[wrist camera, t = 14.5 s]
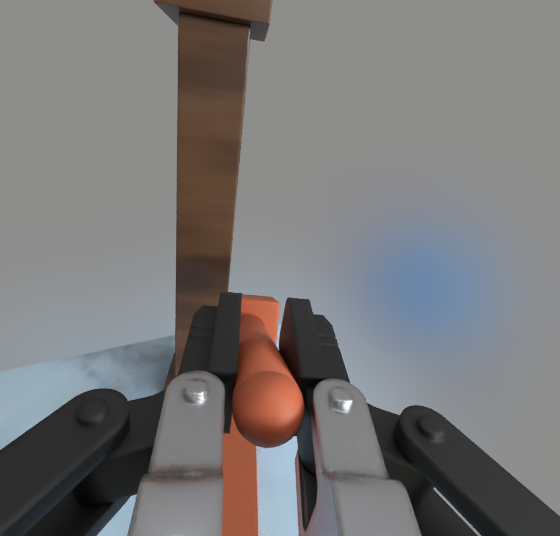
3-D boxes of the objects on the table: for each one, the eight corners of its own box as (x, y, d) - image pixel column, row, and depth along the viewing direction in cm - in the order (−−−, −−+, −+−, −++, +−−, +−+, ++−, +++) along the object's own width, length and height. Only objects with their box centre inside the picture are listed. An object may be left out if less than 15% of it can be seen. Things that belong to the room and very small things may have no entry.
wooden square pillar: (227, 410, 31) (274, -23, 17) (160, 408, 30) (152, -49, 16) (231, 361, 37) (268, 7, 23) (174, 358, 36) (177, -12, 22)
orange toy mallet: (341, 465, 7) (351, 347, 7) (191, 461, 7) (204, 336, 7) (268, 333, 22) (272, 296, 22) (222, 329, 22) (226, 292, 22)
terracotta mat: (258, 597, 20) (259, 594, 20) (152, 602, 19) (151, 599, 19) (254, 412, 31) (255, 409, 31) (188, 410, 30) (188, 407, 30)
